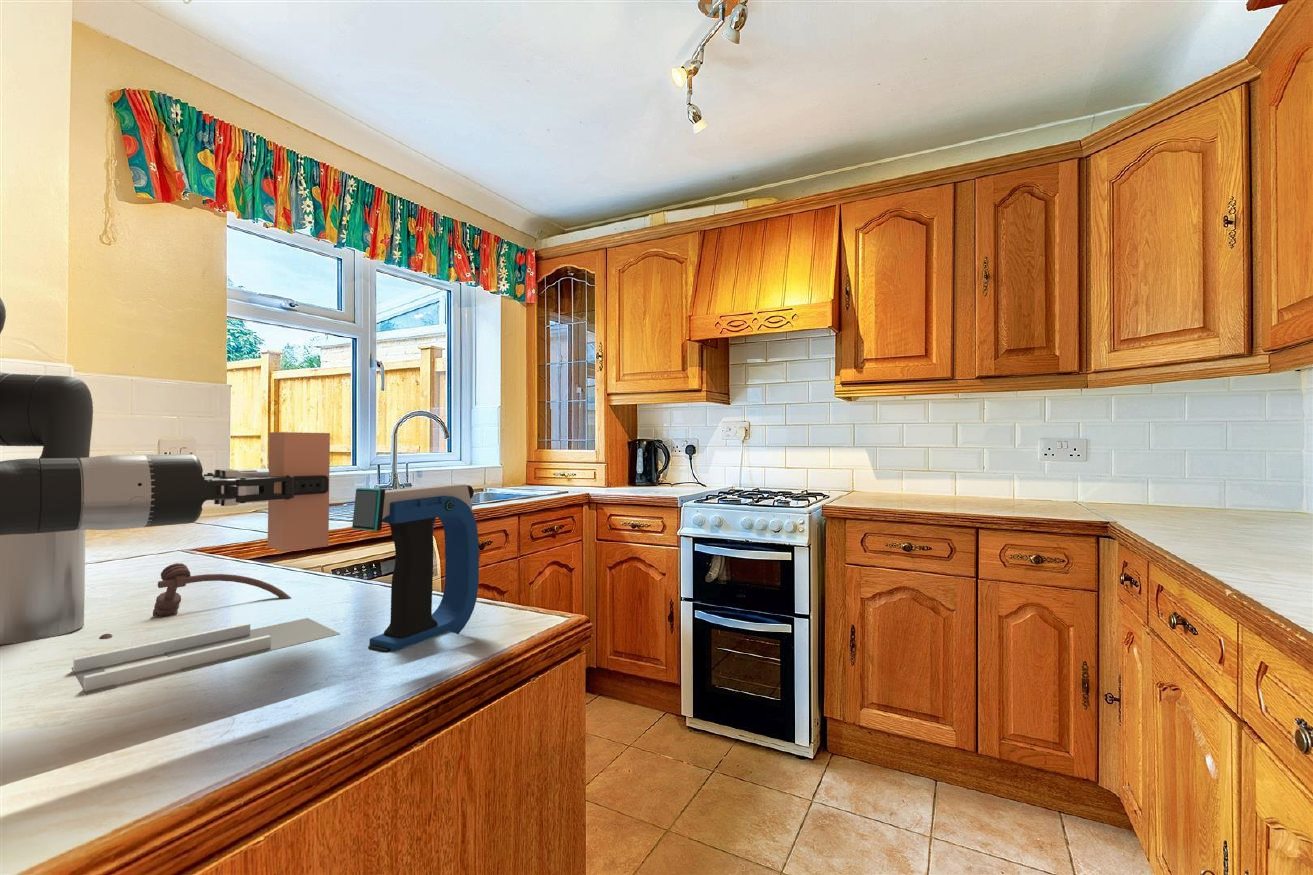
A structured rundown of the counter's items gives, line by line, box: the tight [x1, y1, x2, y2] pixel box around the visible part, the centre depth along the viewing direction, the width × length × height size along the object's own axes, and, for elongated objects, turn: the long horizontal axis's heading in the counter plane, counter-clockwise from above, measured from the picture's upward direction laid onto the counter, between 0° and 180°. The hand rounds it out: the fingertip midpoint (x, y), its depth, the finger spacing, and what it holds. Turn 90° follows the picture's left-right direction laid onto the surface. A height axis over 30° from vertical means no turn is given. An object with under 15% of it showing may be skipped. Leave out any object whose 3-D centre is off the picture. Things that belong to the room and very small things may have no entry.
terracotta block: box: [267, 431, 331, 553], centre depth 71 cm, size 5×5×14 cm
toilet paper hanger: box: [98, 562, 293, 640], centre depth 80 cm, size 22×8×14 cm
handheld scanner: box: [351, 483, 480, 653], centre depth 70 cm, size 5×16×20 cm, turn 155°
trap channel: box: [71, 617, 341, 696], centre depth 64 cm, size 10×22×3 cm, turn 141°
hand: (317, 482), depth 73 cm, fingers closed on terracotta block, 5 cm apart
